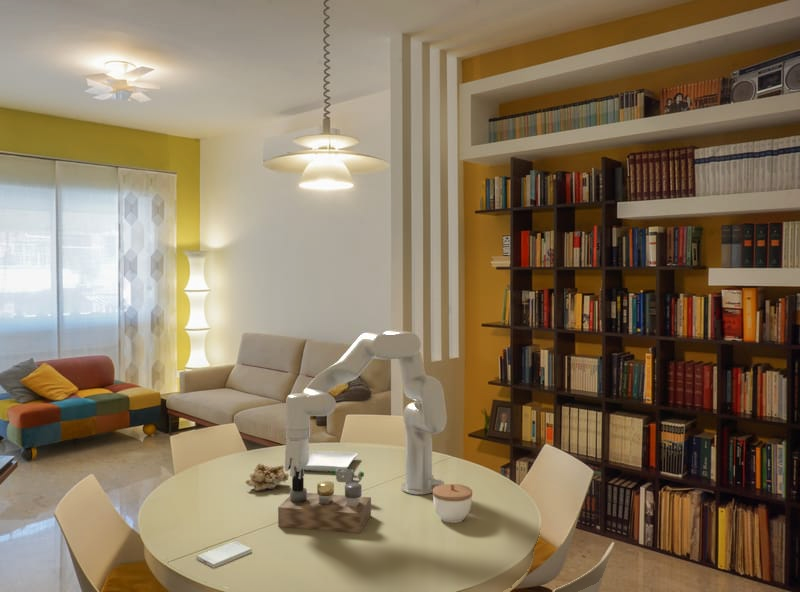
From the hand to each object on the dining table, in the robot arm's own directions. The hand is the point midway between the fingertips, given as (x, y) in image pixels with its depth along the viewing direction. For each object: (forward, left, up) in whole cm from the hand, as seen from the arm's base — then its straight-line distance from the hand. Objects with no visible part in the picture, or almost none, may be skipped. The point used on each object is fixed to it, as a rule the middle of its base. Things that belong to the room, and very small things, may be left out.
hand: (297, 490), depth 200 cm
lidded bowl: (-48, -10, -10) cm, 50 cm away
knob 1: (0, 0, -8) cm, 8 cm away
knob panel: (-9, 0, -9) cm, 13 cm away
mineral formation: (+21, -26, -10) cm, 35 cm away
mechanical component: (-11, -20, -9) cm, 25 cm away
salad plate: (+8, -56, -10) cm, 58 cm away
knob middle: (-9, 0, -5) cm, 11 cm away
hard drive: (+11, +29, -10) cm, 32 cm away
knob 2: (-18, 0, -5) cm, 19 cm away
